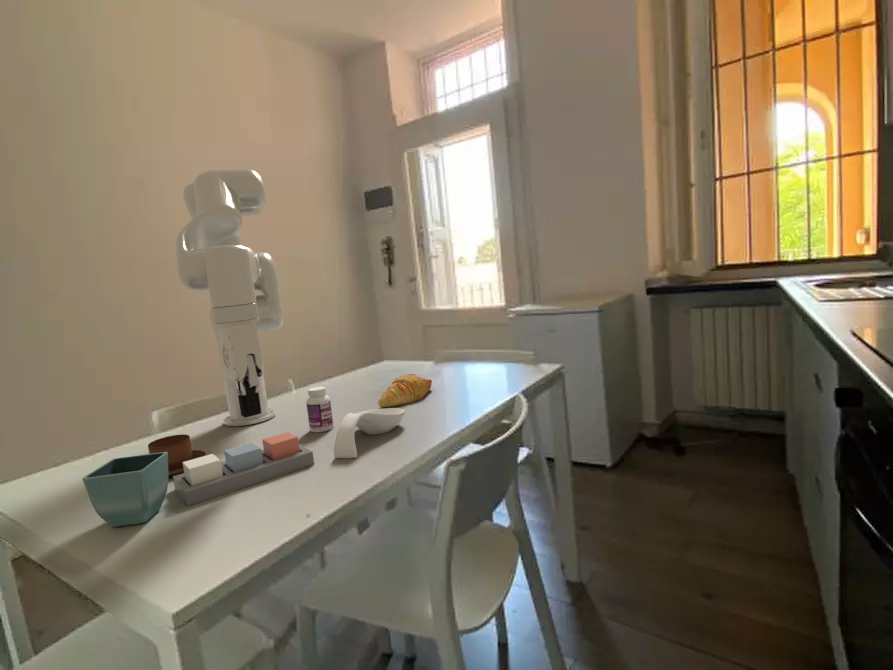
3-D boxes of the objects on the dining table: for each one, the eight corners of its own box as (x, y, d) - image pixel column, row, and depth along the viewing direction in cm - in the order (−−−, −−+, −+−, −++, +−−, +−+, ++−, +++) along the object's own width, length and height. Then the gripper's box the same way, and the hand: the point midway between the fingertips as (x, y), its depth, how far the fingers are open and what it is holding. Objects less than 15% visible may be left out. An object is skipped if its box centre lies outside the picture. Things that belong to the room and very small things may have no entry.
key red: (264, 454, 100) (262, 439, 100) (289, 446, 103) (287, 432, 103) (274, 460, 96) (271, 444, 96) (299, 452, 99) (297, 437, 99)
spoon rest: (365, 422, 124) (361, 392, 123) (412, 421, 121) (409, 390, 120) (318, 460, 101) (313, 424, 100) (375, 460, 98) (371, 423, 97)
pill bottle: (327, 432, 118) (322, 390, 116) (306, 433, 119) (300, 392, 118) (337, 425, 123) (332, 385, 122) (316, 425, 124) (311, 386, 123)
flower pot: (123, 509, 87) (113, 457, 85) (177, 502, 87) (168, 450, 86) (91, 536, 78) (80, 478, 77) (153, 528, 78) (142, 470, 77)
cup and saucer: (144, 468, 107) (138, 439, 106) (208, 454, 111) (203, 426, 111) (135, 489, 96) (129, 456, 95) (206, 472, 100) (201, 441, 100)
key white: (185, 478, 92) (182, 462, 91) (215, 469, 95) (212, 453, 94) (192, 486, 88) (189, 469, 87) (223, 476, 91) (220, 459, 90)
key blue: (226, 466, 96) (224, 450, 96) (254, 457, 99) (251, 442, 99) (235, 472, 92) (232, 456, 92) (263, 464, 95) (260, 448, 95)
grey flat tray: (175, 489, 93) (172, 476, 93) (293, 452, 106) (291, 441, 106) (188, 505, 85) (185, 491, 85) (314, 463, 99) (312, 451, 98)
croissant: (390, 424, 132) (398, 398, 129) (362, 403, 136) (369, 378, 133) (439, 400, 149) (447, 376, 146) (412, 382, 153) (419, 359, 150)
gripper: (203, 317, 97) (219, 413, 100) (225, 319, 85) (242, 428, 88) (245, 312, 102) (259, 404, 104) (270, 313, 90) (286, 416, 92)
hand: (251, 414), depth 96 cm, fingers closed
